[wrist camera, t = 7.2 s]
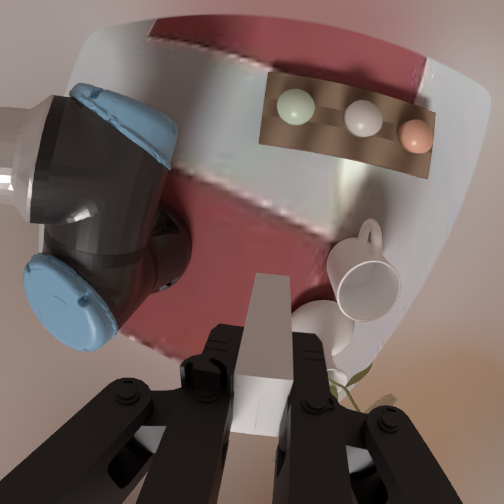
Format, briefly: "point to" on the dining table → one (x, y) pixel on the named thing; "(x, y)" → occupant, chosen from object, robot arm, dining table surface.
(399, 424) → the robot arm
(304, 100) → the sage egg
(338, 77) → the dining table surface
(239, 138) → the dining table surface
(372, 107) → the grey egg
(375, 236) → the mug
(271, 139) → the cardboard egg tray
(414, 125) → the orange egg
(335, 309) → the flower in vase
